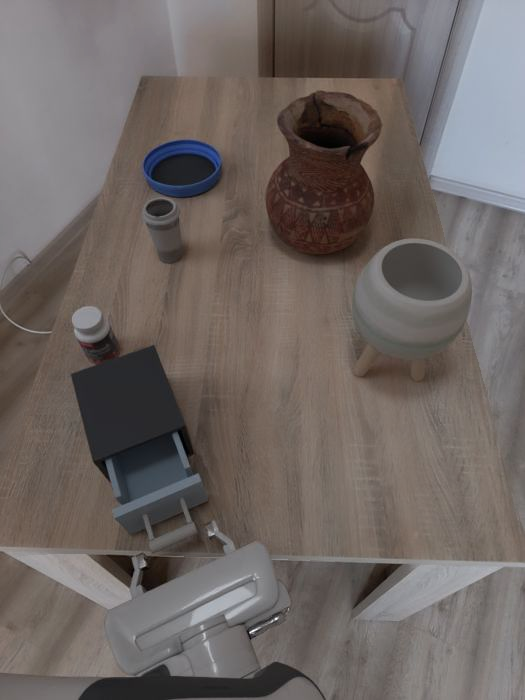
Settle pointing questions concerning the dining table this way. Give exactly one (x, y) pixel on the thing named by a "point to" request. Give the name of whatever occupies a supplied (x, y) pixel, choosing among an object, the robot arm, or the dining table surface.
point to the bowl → (182, 167)
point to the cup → (164, 227)
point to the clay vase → (323, 172)
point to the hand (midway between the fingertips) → (174, 538)
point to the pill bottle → (95, 335)
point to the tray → (155, 489)
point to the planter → (410, 303)
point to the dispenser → (127, 405)
